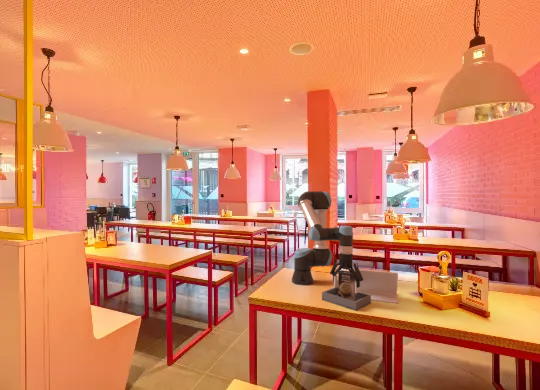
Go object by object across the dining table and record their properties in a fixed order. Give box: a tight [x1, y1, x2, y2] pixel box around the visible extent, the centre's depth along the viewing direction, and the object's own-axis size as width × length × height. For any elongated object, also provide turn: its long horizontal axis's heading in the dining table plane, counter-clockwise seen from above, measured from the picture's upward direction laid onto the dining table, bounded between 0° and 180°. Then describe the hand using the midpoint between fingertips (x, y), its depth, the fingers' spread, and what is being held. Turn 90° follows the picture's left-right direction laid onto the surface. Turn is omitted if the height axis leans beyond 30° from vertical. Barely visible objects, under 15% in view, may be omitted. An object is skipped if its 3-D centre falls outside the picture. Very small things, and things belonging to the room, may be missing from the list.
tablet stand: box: [353, 268, 399, 304], centre depth 169 cm, size 18×25×17 cm
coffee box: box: [337, 269, 356, 301], centre depth 159 cm, size 9×6×16 cm
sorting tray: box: [321, 287, 372, 312], centre depth 160 cm, size 22×16×4 cm
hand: (345, 289), depth 160 cm, fingers open, 13 cm apart
